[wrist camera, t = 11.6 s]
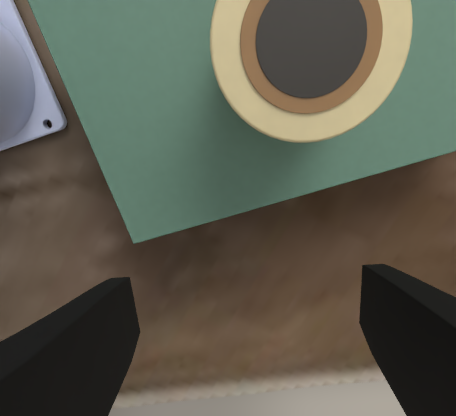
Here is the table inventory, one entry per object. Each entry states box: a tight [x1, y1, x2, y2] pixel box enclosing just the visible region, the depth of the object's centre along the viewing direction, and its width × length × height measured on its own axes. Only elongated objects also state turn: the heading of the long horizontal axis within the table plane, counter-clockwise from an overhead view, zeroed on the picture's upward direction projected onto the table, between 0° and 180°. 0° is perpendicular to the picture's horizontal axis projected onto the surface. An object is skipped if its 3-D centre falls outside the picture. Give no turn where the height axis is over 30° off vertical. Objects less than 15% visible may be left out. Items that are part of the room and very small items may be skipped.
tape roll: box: [210, 0, 413, 143], centre depth 10 cm, size 5×5×5 cm
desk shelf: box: [28, 0, 456, 244], centre depth 15 cm, size 18×11×5 cm, turn 108°
